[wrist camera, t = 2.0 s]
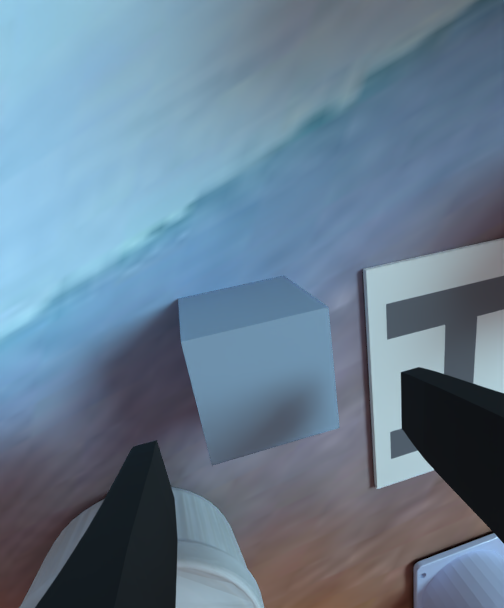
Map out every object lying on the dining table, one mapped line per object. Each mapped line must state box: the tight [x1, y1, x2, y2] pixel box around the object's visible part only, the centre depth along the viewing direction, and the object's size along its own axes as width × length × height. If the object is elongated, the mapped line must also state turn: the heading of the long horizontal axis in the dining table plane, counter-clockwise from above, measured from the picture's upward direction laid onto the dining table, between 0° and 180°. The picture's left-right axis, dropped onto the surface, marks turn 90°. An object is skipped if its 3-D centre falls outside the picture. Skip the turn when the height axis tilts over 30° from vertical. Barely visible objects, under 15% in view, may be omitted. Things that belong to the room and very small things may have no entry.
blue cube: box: [178, 276, 339, 465], centre depth 14 cm, size 5×5×5 cm
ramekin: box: [19, 487, 264, 608], centre depth 17 cm, size 11×11×5 cm
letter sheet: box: [363, 238, 504, 489], centre depth 20 cm, size 14×11×1 cm
